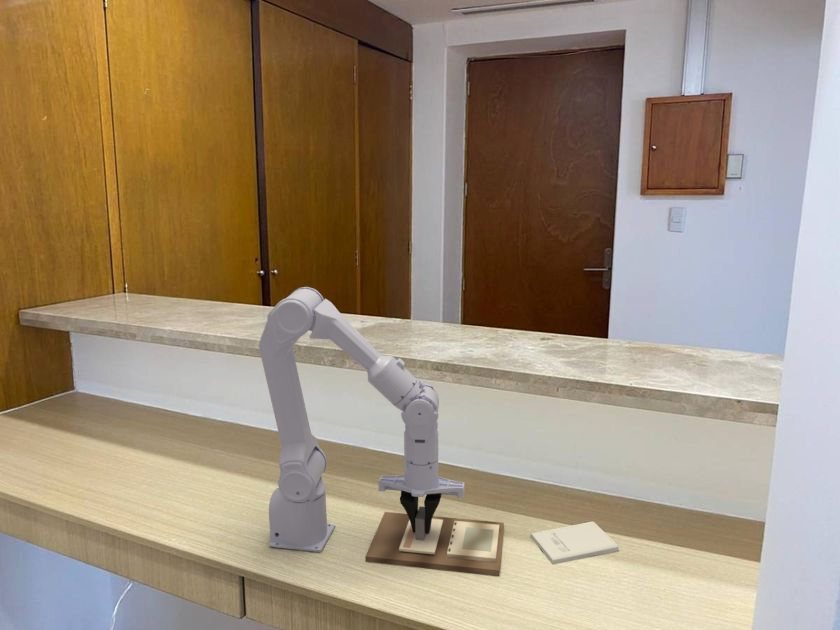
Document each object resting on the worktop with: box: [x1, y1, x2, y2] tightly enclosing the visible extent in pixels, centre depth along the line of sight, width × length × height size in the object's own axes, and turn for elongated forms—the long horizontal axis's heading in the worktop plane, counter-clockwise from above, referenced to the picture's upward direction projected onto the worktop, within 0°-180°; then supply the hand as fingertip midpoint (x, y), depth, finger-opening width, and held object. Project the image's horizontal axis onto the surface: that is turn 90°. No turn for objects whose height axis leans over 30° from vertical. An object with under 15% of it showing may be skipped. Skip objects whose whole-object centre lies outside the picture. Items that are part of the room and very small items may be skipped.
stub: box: [399, 506, 443, 554], centre depth 110 cm, size 6×10×4 cm, turn 170°
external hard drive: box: [529, 521, 619, 565], centre depth 110 cm, size 2×8×12 cm
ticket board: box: [364, 511, 505, 577], centre depth 110 cm, size 22×14×2 cm, turn 80°
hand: (421, 530), depth 110 cm, fingers closed on stub
